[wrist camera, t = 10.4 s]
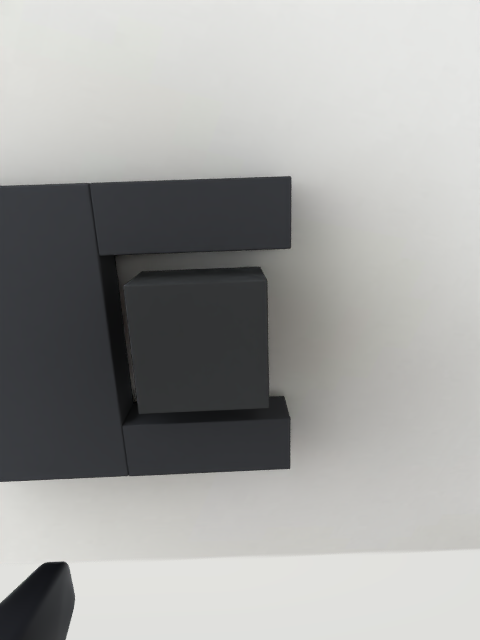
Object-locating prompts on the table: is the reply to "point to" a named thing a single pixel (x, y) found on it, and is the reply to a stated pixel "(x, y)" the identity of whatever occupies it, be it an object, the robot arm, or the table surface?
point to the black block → (199, 339)
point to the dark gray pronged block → (117, 327)
